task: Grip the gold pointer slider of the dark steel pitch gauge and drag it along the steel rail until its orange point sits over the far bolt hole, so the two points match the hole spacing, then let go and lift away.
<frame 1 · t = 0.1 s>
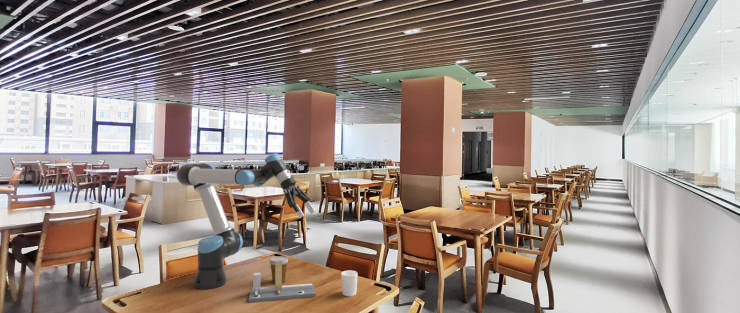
hand: (307, 214, 183), 36 cm above the table, tool tilted 35°, fingers open, 13 cm apart
disposable coffee cup: (278, 281, 188), on the table
gauge plate: (282, 294, 171), on the table
gold pointer slider: (278, 276, 170), point 9 cm above the table, slide at 0.0 cm
white cup: (349, 294, 172), on the table
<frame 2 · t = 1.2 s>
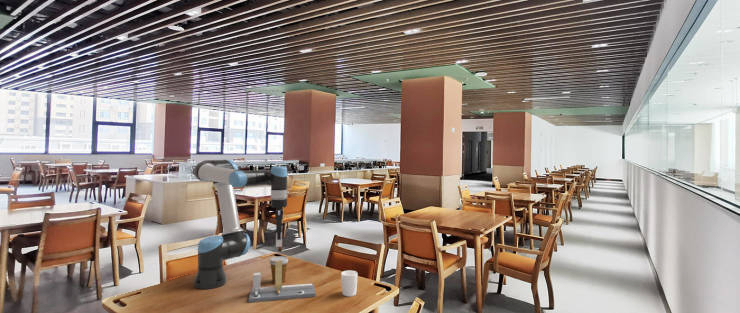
hand: (279, 242, 172), 24 cm above the table, tool pointing down, fingers open, 13 cm apart
nothing on the table moved.
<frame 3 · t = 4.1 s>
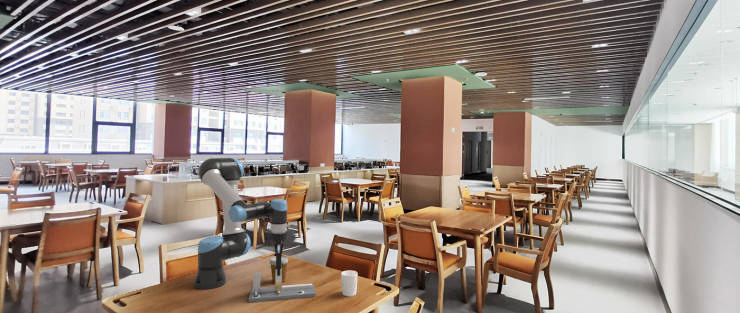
hand: (278, 280, 172), 6 cm above the table, tool pointing down, fingers closed on gold pointer slider, 3 cm apart
gold pointer slider: (278, 276, 170), point 9 cm above the table, slide at 0.0 cm, touching gripper
everything else where it was.
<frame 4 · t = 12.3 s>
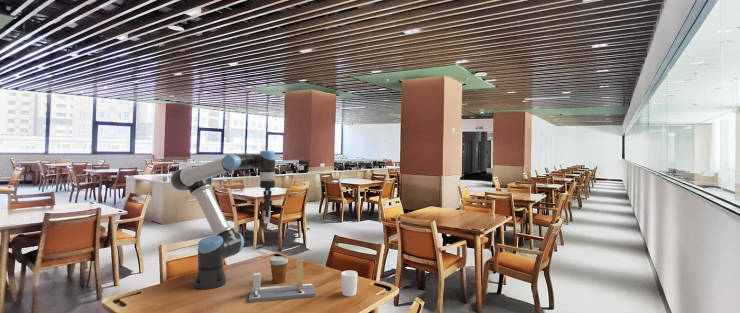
hand: (267, 220, 188), 32 cm above the table, tool pointing down, fingers open, 13 cm apart
gold pointer slider: (300, 275, 172), point 9 cm above the table, slide at 10.0 cm
everything else where it was.
at the end: gold pointer slider slide at 10.0 cm; the gripper is holding nothing; disposable coffee cup moved 0.2 cm from its start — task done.
